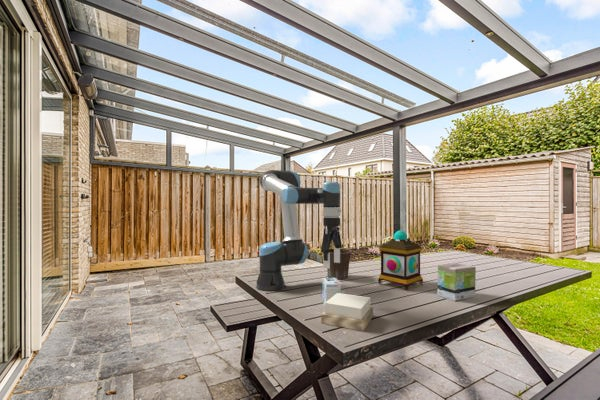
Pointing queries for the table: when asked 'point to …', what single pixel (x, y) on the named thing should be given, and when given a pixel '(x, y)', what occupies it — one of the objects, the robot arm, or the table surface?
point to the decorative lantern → (400, 261)
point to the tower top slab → (348, 306)
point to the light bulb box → (330, 288)
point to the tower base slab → (347, 320)
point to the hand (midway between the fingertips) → (332, 265)
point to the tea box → (456, 281)
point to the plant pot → (339, 265)
